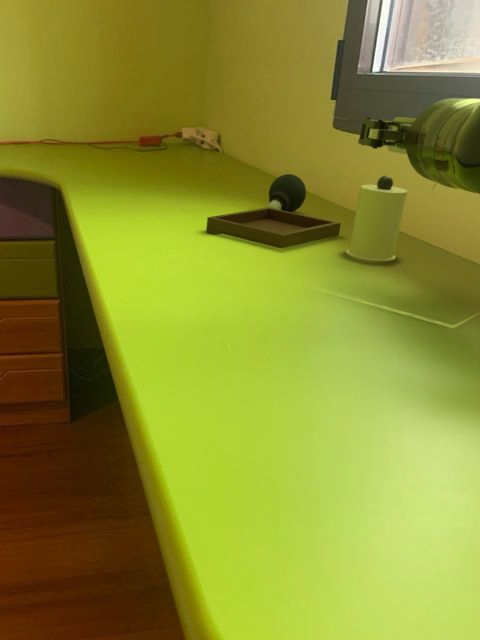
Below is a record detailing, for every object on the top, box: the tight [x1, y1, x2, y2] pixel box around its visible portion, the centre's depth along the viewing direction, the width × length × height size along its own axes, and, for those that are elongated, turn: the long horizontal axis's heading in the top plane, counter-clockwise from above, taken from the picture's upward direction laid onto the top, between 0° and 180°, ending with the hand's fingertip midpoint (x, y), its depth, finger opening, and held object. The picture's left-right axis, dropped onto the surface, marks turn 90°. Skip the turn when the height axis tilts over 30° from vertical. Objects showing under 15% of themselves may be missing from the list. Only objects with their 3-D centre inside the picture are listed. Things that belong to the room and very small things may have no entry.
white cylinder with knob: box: [345, 175, 408, 262], centre depth 93 cm, size 7×7×11 cm
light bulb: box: [265, 173, 307, 213], centre depth 119 cm, size 6×6×10 cm
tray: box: [205, 207, 342, 249], centre depth 104 cm, size 16×14×2 cm
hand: (415, 134), depth 78 cm, fingers open, 8 cm apart
